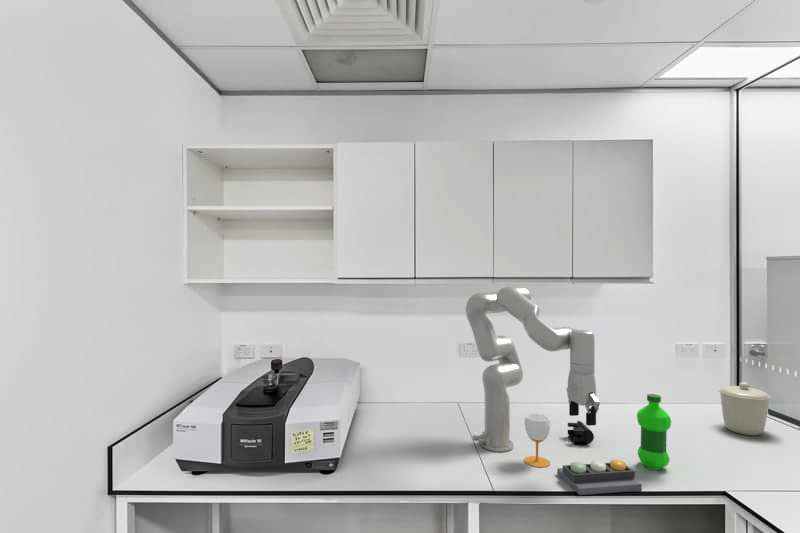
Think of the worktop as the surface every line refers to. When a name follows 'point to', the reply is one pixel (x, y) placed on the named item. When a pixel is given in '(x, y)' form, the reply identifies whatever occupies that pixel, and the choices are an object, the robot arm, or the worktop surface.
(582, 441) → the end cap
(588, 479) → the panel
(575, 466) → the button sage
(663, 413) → the plastic bottle
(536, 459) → the cup
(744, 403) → the canister
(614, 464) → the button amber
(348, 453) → the worktop surface
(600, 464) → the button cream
